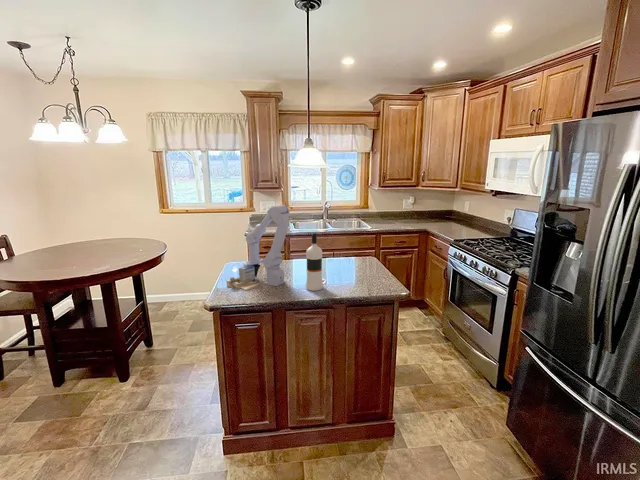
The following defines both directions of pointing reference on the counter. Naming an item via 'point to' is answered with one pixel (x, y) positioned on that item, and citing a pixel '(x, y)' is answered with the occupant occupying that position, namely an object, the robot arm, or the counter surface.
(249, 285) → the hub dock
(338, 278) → the counter surface
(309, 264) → the vodka
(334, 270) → the counter surface
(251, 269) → the medicine box
